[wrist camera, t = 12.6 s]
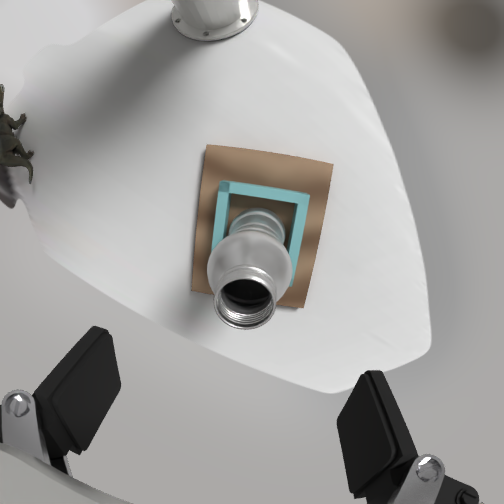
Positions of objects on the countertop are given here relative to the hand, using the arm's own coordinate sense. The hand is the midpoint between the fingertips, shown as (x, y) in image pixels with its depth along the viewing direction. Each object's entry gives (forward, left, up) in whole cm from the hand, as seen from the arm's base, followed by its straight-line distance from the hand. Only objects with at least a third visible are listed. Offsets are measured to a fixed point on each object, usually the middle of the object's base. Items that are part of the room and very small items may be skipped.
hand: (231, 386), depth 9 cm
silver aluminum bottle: (0, 0, -27) cm, 27 cm away
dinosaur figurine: (-11, -46, -29) cm, 55 cm away
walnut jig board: (0, 0, -29) cm, 29 cm away
